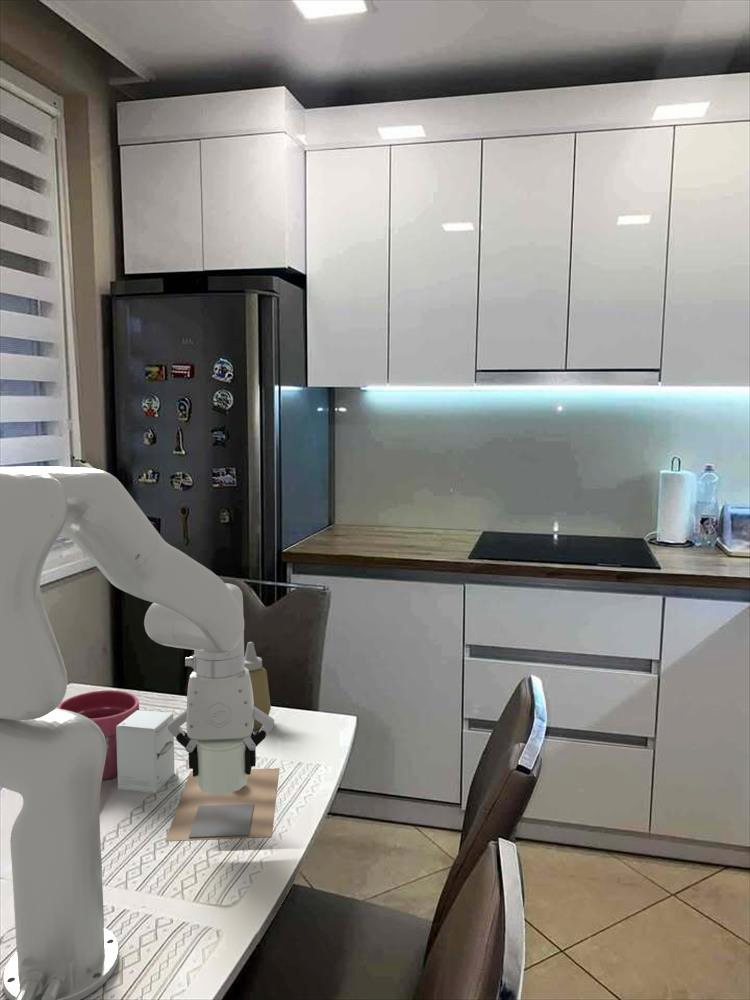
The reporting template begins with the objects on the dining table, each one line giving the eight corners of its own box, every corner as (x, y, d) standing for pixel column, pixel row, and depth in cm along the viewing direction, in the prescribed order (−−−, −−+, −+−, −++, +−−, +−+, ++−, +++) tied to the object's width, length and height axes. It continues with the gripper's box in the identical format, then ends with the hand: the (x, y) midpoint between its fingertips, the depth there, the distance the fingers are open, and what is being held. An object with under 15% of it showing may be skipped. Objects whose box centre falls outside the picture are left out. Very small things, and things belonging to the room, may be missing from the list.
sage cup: (244, 793, 113) (243, 746, 112) (195, 795, 112) (193, 748, 111) (249, 769, 120) (248, 725, 119) (202, 771, 120) (201, 727, 119)
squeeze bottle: (225, 730, 153) (223, 646, 151) (243, 715, 161) (241, 635, 159) (260, 735, 151) (259, 650, 149) (277, 720, 158) (276, 638, 156)
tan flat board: (271, 844, 113) (271, 835, 112) (165, 848, 111) (164, 839, 111) (279, 774, 134) (279, 767, 134) (190, 777, 133) (190, 770, 133)
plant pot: (156, 759, 140) (154, 694, 139) (106, 795, 127) (103, 724, 125) (95, 747, 145) (93, 685, 143) (41, 780, 132) (37, 712, 130)
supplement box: (156, 800, 125) (154, 729, 124) (116, 795, 127) (114, 725, 125) (176, 779, 133) (174, 712, 131) (138, 775, 134) (136, 708, 133)
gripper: (157, 674, 110) (161, 785, 112) (274, 671, 111) (277, 781, 113) (167, 657, 117) (171, 762, 119) (277, 654, 118) (279, 758, 120)
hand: (222, 770), depth 116 cm, fingers closed on sage cup, 7 cm apart
